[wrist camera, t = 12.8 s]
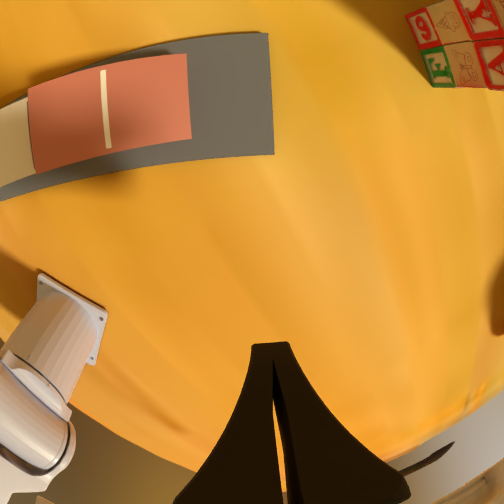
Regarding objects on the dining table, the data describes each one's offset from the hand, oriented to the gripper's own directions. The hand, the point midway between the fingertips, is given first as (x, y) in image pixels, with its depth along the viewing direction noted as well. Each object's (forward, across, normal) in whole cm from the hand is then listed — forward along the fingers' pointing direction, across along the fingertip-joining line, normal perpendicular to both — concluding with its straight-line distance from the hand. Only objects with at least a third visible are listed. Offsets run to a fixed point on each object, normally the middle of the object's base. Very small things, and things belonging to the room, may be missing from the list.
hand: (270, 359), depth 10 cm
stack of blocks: (+11, -23, -18) cm, 31 cm away
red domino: (+9, +4, -10) cm, 14 cm away
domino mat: (+10, +13, -10) cm, 19 cm away
